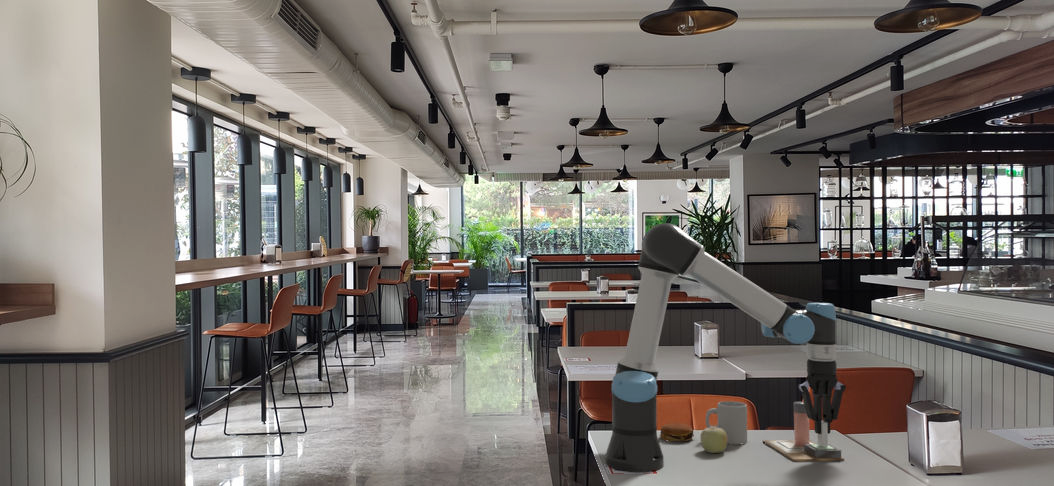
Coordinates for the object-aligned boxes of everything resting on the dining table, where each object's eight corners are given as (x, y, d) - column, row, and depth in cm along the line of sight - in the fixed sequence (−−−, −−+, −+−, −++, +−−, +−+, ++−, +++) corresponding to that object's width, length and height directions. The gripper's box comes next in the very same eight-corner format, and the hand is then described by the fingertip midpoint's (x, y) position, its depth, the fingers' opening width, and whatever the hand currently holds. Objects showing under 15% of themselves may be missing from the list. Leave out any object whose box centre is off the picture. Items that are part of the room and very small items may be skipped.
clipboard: (793, 461, 188) (793, 451, 188) (762, 442, 208) (762, 433, 208) (844, 460, 189) (843, 450, 190) (808, 441, 209) (808, 432, 209)
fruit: (731, 455, 194) (730, 426, 194) (704, 455, 194) (704, 426, 194) (723, 448, 202) (723, 420, 202) (697, 448, 202) (697, 420, 202)
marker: (797, 447, 201) (796, 404, 201) (792, 443, 205) (791, 401, 205) (812, 446, 201) (811, 404, 201) (806, 443, 205) (805, 401, 205)
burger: (654, 439, 212) (654, 423, 213) (671, 434, 219) (671, 419, 219) (683, 445, 206) (683, 429, 206) (699, 439, 212) (699, 424, 213)
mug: (744, 437, 214) (744, 401, 214) (749, 445, 205) (749, 407, 206) (704, 436, 216) (704, 400, 216) (707, 443, 207) (707, 406, 207)
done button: (818, 455, 191) (818, 448, 191) (810, 450, 195) (810, 444, 195) (834, 455, 191) (834, 448, 191) (826, 450, 196) (826, 444, 196)
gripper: (805, 361, 190) (806, 449, 189) (851, 360, 191) (852, 448, 190) (792, 357, 197) (793, 442, 196) (837, 357, 198) (838, 441, 197)
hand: (822, 445), depth 193 cm, fingers closed
